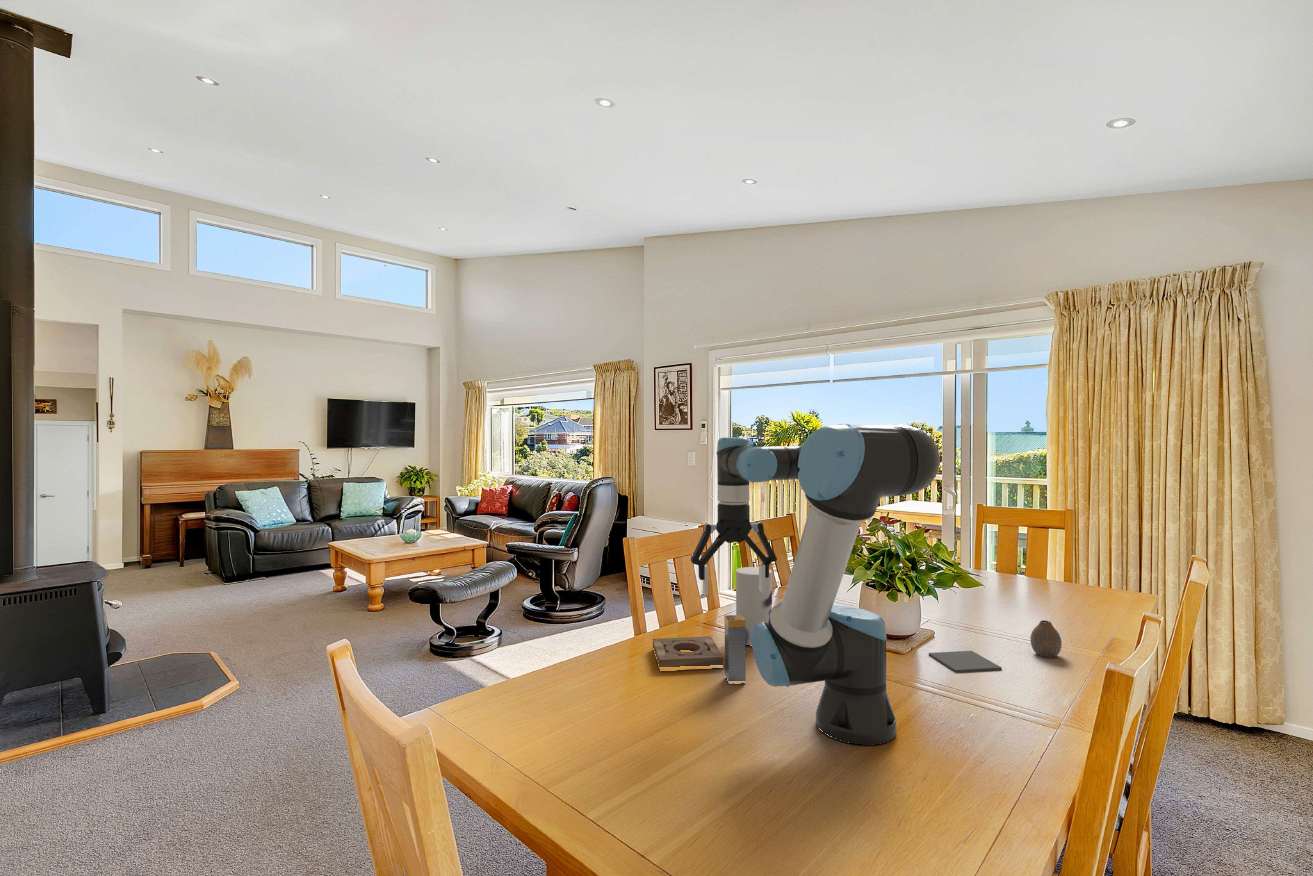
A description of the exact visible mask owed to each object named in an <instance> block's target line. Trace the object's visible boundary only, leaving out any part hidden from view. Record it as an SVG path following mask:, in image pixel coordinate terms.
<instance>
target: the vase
mask: <svg viewBox="0 0 1313 876" xmlns="http://www.w3.org/2000/svg"><path fill="white" fill-rule="evenodd" d="M1030 645H1031V648H1032V650H1033V651H1034V653H1035V654H1036V655H1038V656H1040V657H1042V658H1050V659H1052V658H1055V657H1057V656H1058V655H1059V654H1060V653H1061V650H1062V647H1063V646H1062V645H1063V644H1062V637H1061V635H1060V633H1059V632H1058V631H1057V629H1056V628H1055V627H1054V625H1053V623H1052V622H1051V621H1049V620H1046V619H1045V620H1043V619H1042V620H1040V621H1039V623H1038V624H1037V625H1036V626H1035V627H1034V628H1033V629H1032V631H1031V634H1030Z"/></svg>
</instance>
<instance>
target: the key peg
mask: <svg viewBox="0 0 1313 876" xmlns="http://www.w3.org/2000/svg"><path fill="white" fill-rule="evenodd" d="M723 622H724V676H725V675H726V677H727V679H728V681H746V680H747V679H746V677H747V676H746V669H747V667H746V646H745V619H744V618H743V616H742V615H736V614H727V615H726V614H725V615H723Z"/></svg>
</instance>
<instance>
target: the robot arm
mask: <svg viewBox="0 0 1313 876" xmlns="http://www.w3.org/2000/svg"><path fill="white" fill-rule="evenodd" d="M716 461H717V463H716V467H717V471H716V472H717V474H716V475H717V476H716V477H717V501H718V502H719V503H718V504H717V522H716V524H710V523H708V522H706V523H704V526H703V532H702V535H701V537H700V539H699V541H698V543H697V545H696V547H695V548H694V551H693V553H692V555H691V557H690V562H691V563H692V564H693V565H696V566H697V567H698V579H699V581H702V593H703V594H704V596H709V566H708V565H707V564H708V562H709V561H710V560H711V559H712V557H713V556H714V555H715V553H716V552H717V551H718V550H719V548H721V546H723V544H725V543H728V544H733V543H741V544H742V542H745V543H746V544H747V545H748V546H749V548H750V549H751V551H753V553H754V554H755V555H756V556H757V557H758V558H759V560H760V561H761V562H758V567H759V591H761V592H762V593H765V578H768V577H769V570H770V565H771V563H774V562H775V563H776V562H777V560H778V558H777V555H776V554H775V552H774V549H773V548H772V546H771V543H770V542H769V540H768V537H767V535H766V533H765V529H764V524H763V523H762V522H760V521H756V522H754V523H751V522H750V521H751V519H750V518H751V516H750V512H751V511H750V509H751V508H750V504H749V502H750V500H751V499H750V493H751V492H750V482H751V483H764V482H767V481H784V480H798V482H799V485H800V488H801V489H802V492H804V496H805V499H806V501H807V503H808V504H809V505H810V506H809V509H808V513H807V517H806V520H805V524H804V527H803V530H802V534H801V538H800V541H799V545H798V548H797V550H796V555H795V558H794V561H793V565H792V568H791V572H790V575H789V578H788V582H787V586H786V588H785V592H784V596H783V599H782V601H781V602H778V603H777V604H775V605H774V606H772V611H771V613H770V617H769V620H768V622H767V623H763V622H760V623H759V624H756V625H755V626H754V627H753V629H752V636H751V640H752V646H751V647H752V653H753V659H754V661H755V664H756V668H757V669H758V671H759V674H760V676H761V677H762V679H763V681H764V682H765V683H766V684H767V685H769V686H771V687H774V688H775V687H786V688H789V687H790V686H796V685H803V684H804V685H805V684H811V683H817V682H824V687H823V689H822V693H821V695H820V699H819V702H818V705H817V707H816V711H815V724H817V725H816V727H817V726H818V727H819V728H820V729H821V730H822V731H823V732H824V733H826V734H828V735H829V736H832V737H833V738H836V739H838V740H841V741H845V742H849V743H856V744H863V745H862V746H876V745H875V744H879V745H881V744H880V743H884V744H887V743H890V742H891V741H893V740H894V739H895V738H894V737H896V736H897V719H896V716H895V714H894V710H893V707H892V704H891V701H890V699H889V698H890V697H889V695H888V692H887V641H888V637H887V631H886V629H887V628H886V622H885V620H884V618H883V617H882V616H881V615H878V614H877V613H874V612H872V611H869V610H866V609H863V608H858V607H854V606H847V605H834V604H835V602H836V601H835V600H836V598H837V595H838V592H839V590H840V586H841V583H842V580H843V577H844V574H845V571H846V568H847V566H848V563H849V559H850V557H851V554H852V551H853V548H854V545H855V542H856V539H857V538H858V534H859V530H860V527H861V525H862V522H866V521H868V520H871V519H872V518H874V516H875V514H876V512H877V509H878V506H879V503H880V500H881V499H882V498H883V497H885V498H886V497H898V496H899V497H901V496H908V495H913V494H915V493H918V492H920V491H923V490H924V489H926V488H927V487H928V486H929V485H930V484H932V482H934V479H935V478H936V477H937V474H938V472H939V470H940V465H941V458H940V451H939V449H938V446H937V444H936V443H935V442H934V440H933V438H931V436H929V434H927V433H926V432H925V431H923V430H921V429H920V428H916V427H914V426H911V425H905V424H870V425H868V424H867V425H866V424H863V425H861V424H860V425H859V424H858V425H857V424H856V425H854V424H853V425H852V424H849V423H848V424H847V423H840V424H836V425H827V426H826V425H825V426H822V427H819V428H818V429H815V430H814V431H813V432H812V433H810V434H809V435H808V436H807V438H806V439H805V441H804V443H803V444H802V445H788V446H781V445H780V446H779V445H778V446H777V445H776V446H771V445H769V446H750V440H749V438H747V437H744V436H743V437H742V436H738V437H734V436H731V437H720V438H719V439H718V440H717V449H716ZM752 530H753V531H754V532H755V533H756V534H757V536H758V538H759V540H760V542H761V545H762V547H763V549H764V550H765V552H766V554H767V556H766V555H765V554H764V552H762V550H761V549H760V548H759V547H758V545H757V544H756V543H755V542H754V541H753V539H751V537H750V536H749V534H750V532H751V531H752ZM715 531H716V532H717V533H718V535H717V537H716V538H715V540H713V542H712V543H711V544H710V546H709V547H708V549H707V550H706V551H705V552H704V554H703V551H704V549H705V547H706V545H707V543H708V541H709V539H710V537H711V534H713V533H714V532H715ZM818 727H817V728H818ZM824 733H823V734H824ZM895 735H896V736H895ZM829 736H828V737H829ZM833 738H832V739H833ZM893 738H894V739H893ZM838 740H837V741H838ZM890 740H891V741H890ZM841 741H840V742H841ZM845 742H844V743H845ZM886 742H887V743H886ZM849 743H848V744H849ZM873 744H874V745H873Z"/></svg>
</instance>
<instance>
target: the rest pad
mask: <svg viewBox="0 0 1313 876" xmlns="http://www.w3.org/2000/svg"><path fill="white" fill-rule="evenodd" d="M928 656H929V657H931V658H933V659H934V660H935V661H937V662H938V663H940V664H942V665H943V666H945V667H946V668H948V669H949V670H951V671H953V672H954V673H968V672H969V673H970V672H971V673H973V672H986V671H987V672H989V671H1003V667H1002V666H1000V665H998V664H996V663H994V662H993V661H991V660H990V659H987V658H986V657H984V656H982V655H980V654H978V653H977V652H974V651H973V650H961V651H957V650H956V651H941V652H928Z"/></svg>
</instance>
